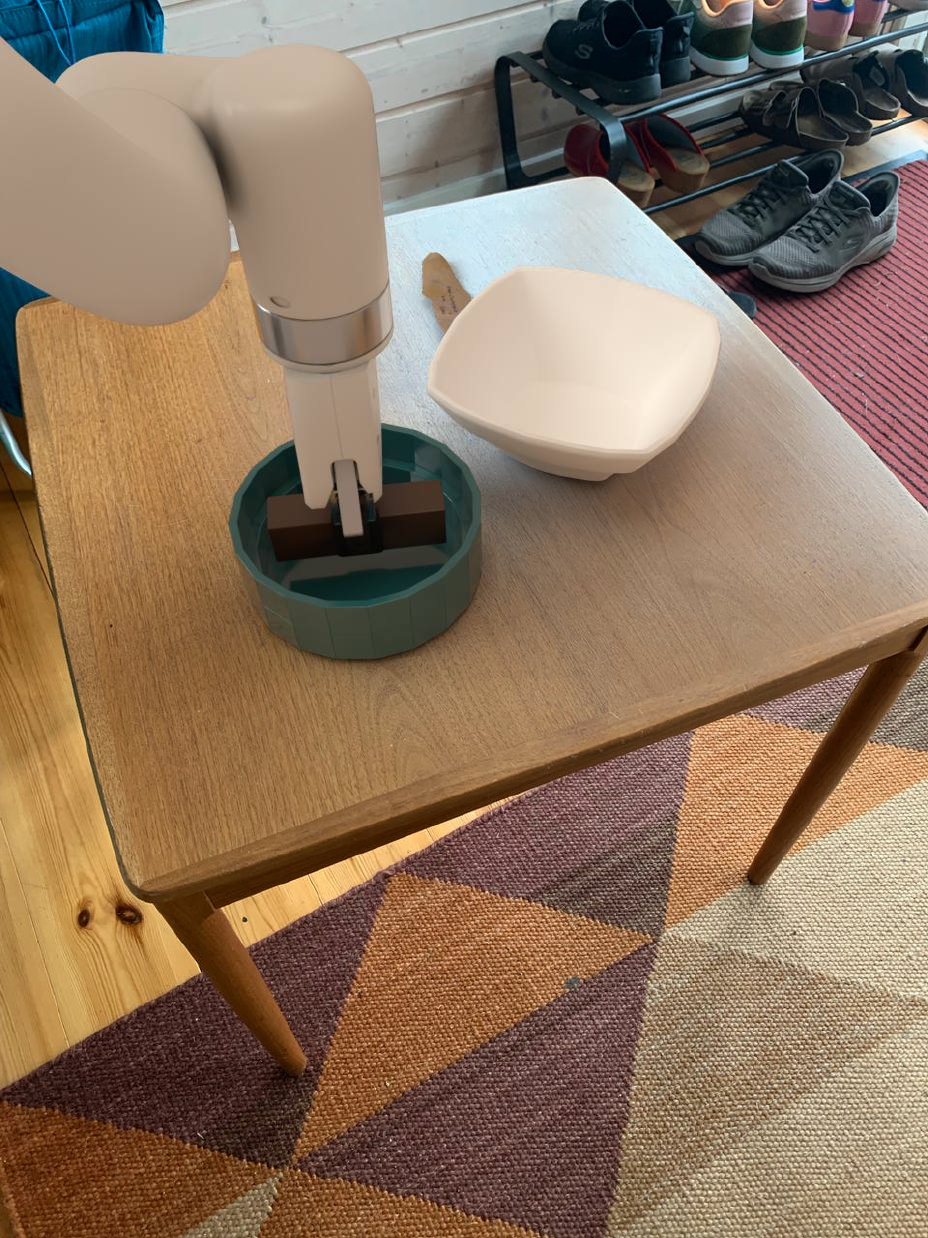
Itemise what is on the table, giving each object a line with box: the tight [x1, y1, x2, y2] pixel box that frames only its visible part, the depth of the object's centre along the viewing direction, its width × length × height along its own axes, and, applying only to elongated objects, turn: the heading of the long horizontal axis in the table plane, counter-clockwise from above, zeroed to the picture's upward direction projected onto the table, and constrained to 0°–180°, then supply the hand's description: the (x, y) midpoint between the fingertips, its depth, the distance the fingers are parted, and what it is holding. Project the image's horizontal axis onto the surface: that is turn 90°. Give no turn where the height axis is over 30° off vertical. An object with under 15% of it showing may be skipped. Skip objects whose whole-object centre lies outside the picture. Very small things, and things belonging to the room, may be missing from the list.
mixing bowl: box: [228, 422, 482, 660], centre depth 66 cm, size 17×17×6 cm
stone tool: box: [421, 251, 472, 334], centre depth 87 cm, size 5×2×15 cm
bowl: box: [426, 265, 723, 482], centre depth 73 cm, size 21×21×9 cm
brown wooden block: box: [267, 479, 447, 562], centre depth 64 cm, size 12×3×4 cm, turn 98°
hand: (358, 530), depth 65 cm, fingers closed on brown wooden block, 3 cm apart
